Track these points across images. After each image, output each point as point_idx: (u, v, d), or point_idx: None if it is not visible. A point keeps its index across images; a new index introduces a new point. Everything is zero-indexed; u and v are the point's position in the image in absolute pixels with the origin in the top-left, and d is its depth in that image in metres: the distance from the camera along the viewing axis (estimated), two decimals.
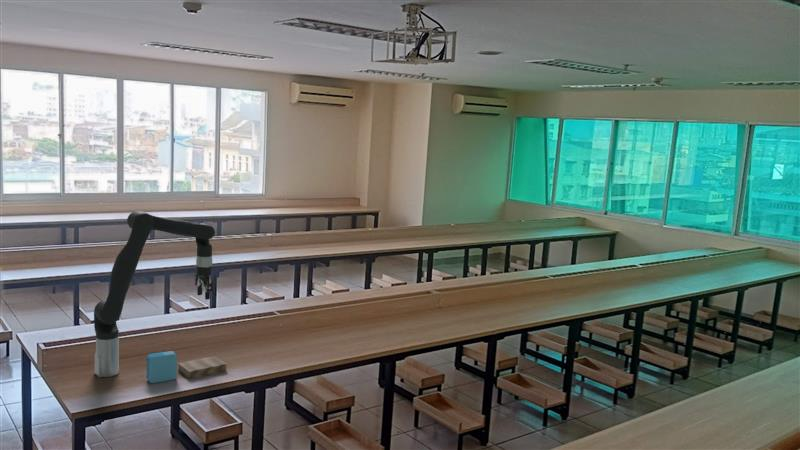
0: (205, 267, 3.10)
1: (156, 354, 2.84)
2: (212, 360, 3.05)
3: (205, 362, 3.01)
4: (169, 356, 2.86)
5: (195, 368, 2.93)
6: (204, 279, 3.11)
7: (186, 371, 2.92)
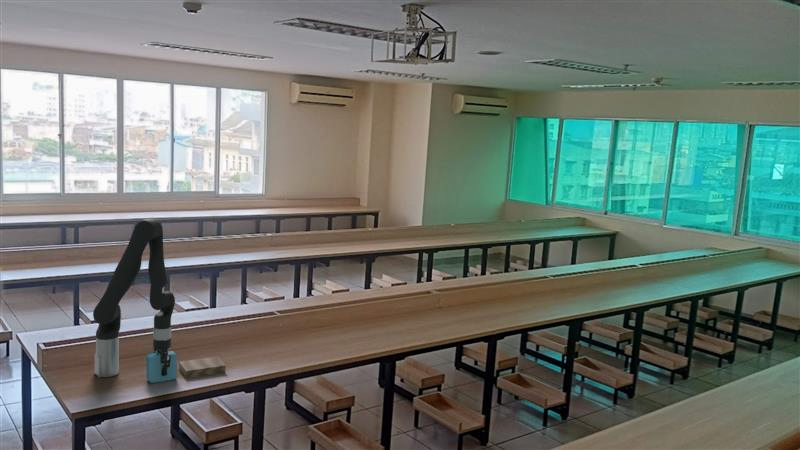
0: (163, 340, 2.81)
1: (156, 354, 2.84)
2: (214, 360, 3.04)
3: (205, 362, 3.01)
4: None
5: (193, 368, 2.93)
6: (162, 354, 2.83)
7: (184, 370, 2.93)
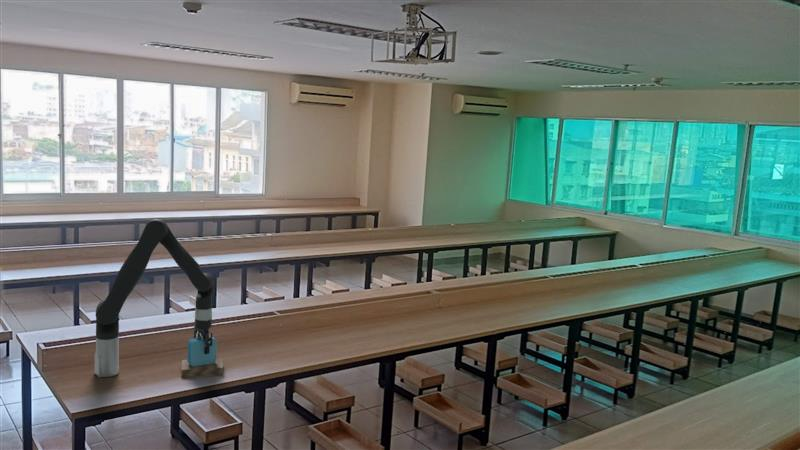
0: (204, 320, 2.93)
1: (197, 339, 2.96)
2: (215, 362, 3.03)
3: None
4: None
5: (190, 367, 2.94)
6: (203, 333, 2.95)
7: (181, 369, 2.94)
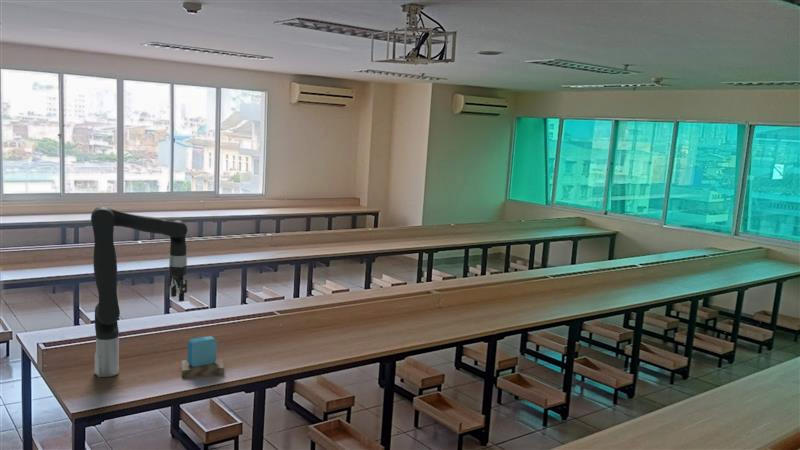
0: (179, 267, 2.91)
1: (197, 339, 2.96)
2: (215, 362, 3.03)
3: None
4: (210, 341, 2.98)
5: (190, 368, 2.94)
6: (178, 280, 2.93)
7: (182, 369, 2.94)
